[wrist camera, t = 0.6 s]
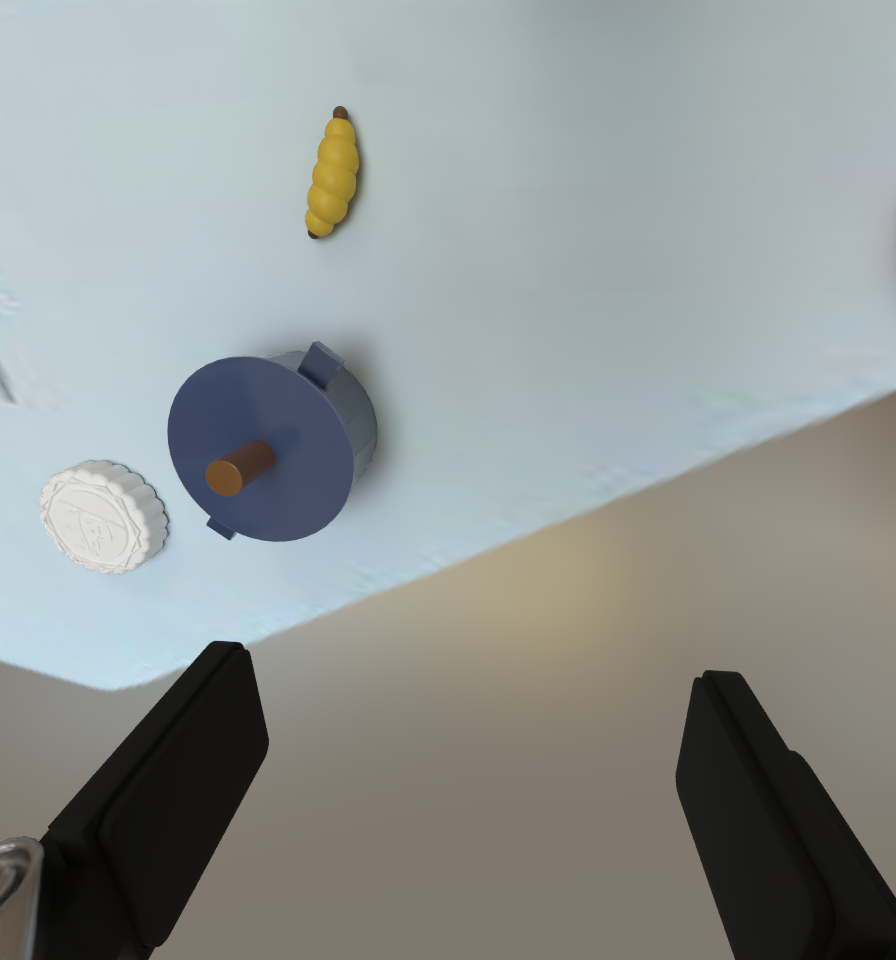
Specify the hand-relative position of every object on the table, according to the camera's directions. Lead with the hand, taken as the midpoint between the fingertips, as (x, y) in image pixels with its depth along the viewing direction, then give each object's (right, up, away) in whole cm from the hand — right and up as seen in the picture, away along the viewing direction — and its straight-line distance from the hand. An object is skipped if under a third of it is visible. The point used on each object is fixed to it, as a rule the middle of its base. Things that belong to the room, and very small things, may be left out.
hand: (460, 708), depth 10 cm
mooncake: (-36, +1, +41) cm, 54 cm away
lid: (-15, +7, +26) cm, 31 cm away
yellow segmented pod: (-9, +28, +27) cm, 39 cm away
